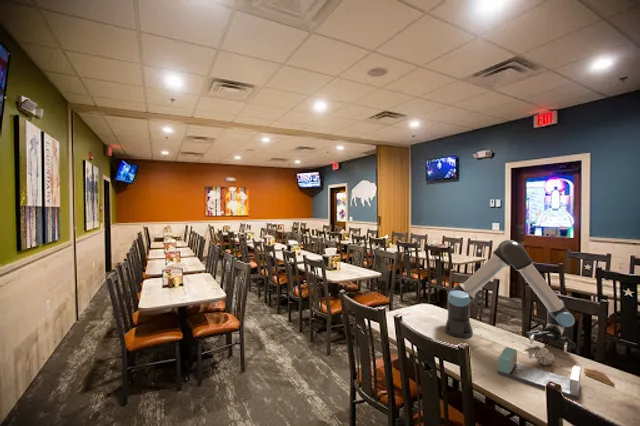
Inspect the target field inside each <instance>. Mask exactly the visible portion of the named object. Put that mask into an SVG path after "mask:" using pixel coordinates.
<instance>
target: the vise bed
mask: <svg viewBox="0 0 640 426" xmlns="http://www.w3.org/2000/svg"><path fill="white" fill-rule="evenodd" d="M496 373H497V375H499V376H502V377H506V378H509V379H512V380H515V381H518V382H521V383H524V384H527V385H530V386H533V387H537V388H539V389H543V390H545V386H546V383H547V382H548V381H553V382H555V383H557V384H560V385H561V387H562V394H563V395H564V396H563V395H562V396H563V397H566V398H570V399H571V400H572V399H573V400H576V401H579V395H580V387H581V366H578V365H573V366H572V368H571V374H570V377H567V376H563V375H560V374H557V373H554V372H550V371H546V370H542V369H540V368H536V367H532V366H531V365H530V366H529V365H526V364H523V363H521V362H520V363H519V362H516V364H515V365H514V367H513V369H512V371H511V372H510V373H509V374H507V373H504V372H501V371H499V368H498V369H497V371H496Z"/></svg>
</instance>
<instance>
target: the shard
mask: <svg viewBox="0 0 640 426" xmlns="http://www.w3.org/2000/svg"><path fill="white" fill-rule="evenodd" d="M583 370H584V371H585V373H584V375H585V376H586V377H589V378H593V379H595V380H597V381H599V382H602V383H604V384H607V385H609V386H612V387H615V385H616V384H615V382H613V381H612V380H611V379H610V377H608V376H607V375H606V374H605V373H604V372H602V371H600V370H596V369H593V368H583Z"/></svg>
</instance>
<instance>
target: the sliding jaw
mask: <svg viewBox="0 0 640 426" xmlns="http://www.w3.org/2000/svg"><path fill="white" fill-rule="evenodd" d="M517 361H518V351H517V349H516V348H513V347H508V346H505V348H504V349H503V350H502V352H501V353H500V355H499V356H498V369H499V371H501V372H504V373H507V374H509V373H510V372H511V371H512V369H513V367H514V365H515V364H516V363H518V362H517Z"/></svg>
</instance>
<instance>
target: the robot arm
mask: <svg viewBox="0 0 640 426" xmlns="http://www.w3.org/2000/svg"><path fill="white" fill-rule="evenodd" d="M511 266H512V268H514V270H515V271H518V272H519V273H520V275H521V276H522V277H523V279H524V281H526V282H527V284H528V285H529V286H530V288H531V289H532V290H533V292H534V294H536V295H537V297H538V298H539V300H540V301H541V302H542V304H543V305H544V306H545V308H546V310H547V311H546V312H547V314H546V315H547V318H546V319H547V320H546V327H544V329H543V331H540V330H539V329H535V330H531V331H526V332H525V335H526V336H525V337H526V338H528V341H529V344H531V345H532V344H533V343H534V341H535V340H538V339H540V340H541V339H542V340H547V341H551V342H554V343H555V342H556V343H557V344H560V345H563V353H567V350H571V349H573V350H576V343H575V342H574V341H573V340H572V339H570V338H569V336H568V335H565V336H562V335H563V333H564V331H565V328H569V327H572V326H573V325H574V324H575V323H576V321H575V317H574V315H573V314H572V313H570V311H569V310H568V309H567V308H566V306H565V303H564V301H563V300H562V299H560V298H559V296H558V295H557V294H556V293H555V291H553V289H552V288H551V287H550V285H549V284H548V282H547V281H546V280H545V279H544V277H543V276H542V274H540V272H539V271H538V270H537V268H536V267H535V265H534V260H533V259H532V258H531V257H530V255H529V254H528V252H527V250H526V248H525V247H524V246H523V245H522V244H520V243H518V241H516V240H512V239H505V240H503V241H501V242H500V243H499V244H498V246H497V248H496V249H495V250H494V251H493V252H492V256H491V257H490V258H489V259H488V260H487V261H485V262H484V264H483V265H481V266H480V267H479V268H478V269H477V270H476V271H475V272H474V273H473V274H472V275H471V276H470V277H468V278H467V280H466V281H464V282H463V283H461V282H460V283H458V284H457V285H456V286H454V287H453V288H451V289H450V290H449V291H448V294H447V320H446V323H445V325H444V332H445V334H447V335H449V336H452V337H455V338H462V339H463V338H464V339H468V338H471V337H473V335H474V330H473V328H472V324H471V321H470V317H471V316H470V315H471V314H470V310H471V309H470V308H471V306H470V305H471V302H472V301H473V300H474V299H476V293H478V292H479V291H480V290H481V289H482V288H483V287H484V286H485V285H486V284H487V283H489V281H491V280H492V279H493V278H494V277H495V276H496V275H497V274H498V273H500V271H502V270H503V269H504V268H509V267H511Z"/></svg>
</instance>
